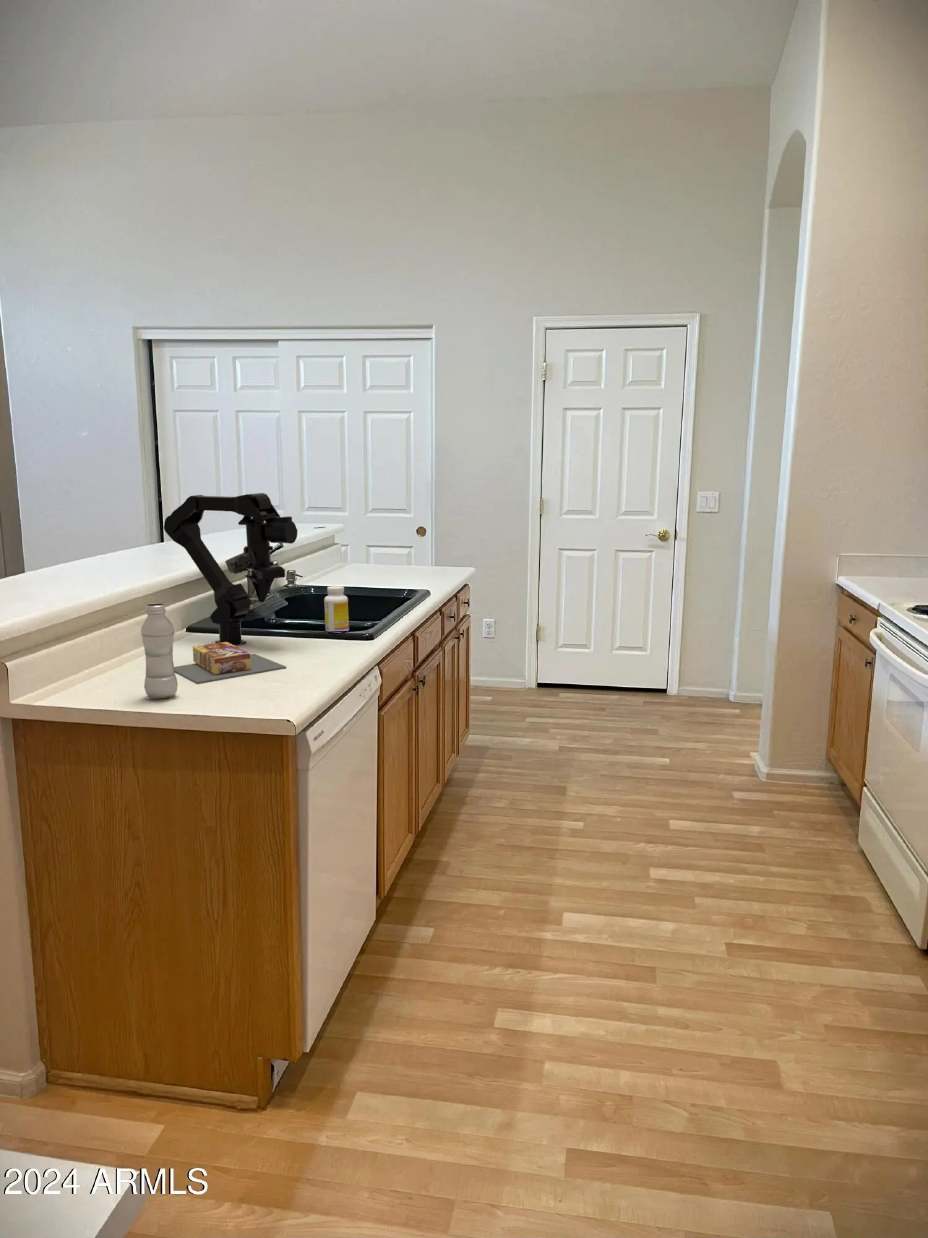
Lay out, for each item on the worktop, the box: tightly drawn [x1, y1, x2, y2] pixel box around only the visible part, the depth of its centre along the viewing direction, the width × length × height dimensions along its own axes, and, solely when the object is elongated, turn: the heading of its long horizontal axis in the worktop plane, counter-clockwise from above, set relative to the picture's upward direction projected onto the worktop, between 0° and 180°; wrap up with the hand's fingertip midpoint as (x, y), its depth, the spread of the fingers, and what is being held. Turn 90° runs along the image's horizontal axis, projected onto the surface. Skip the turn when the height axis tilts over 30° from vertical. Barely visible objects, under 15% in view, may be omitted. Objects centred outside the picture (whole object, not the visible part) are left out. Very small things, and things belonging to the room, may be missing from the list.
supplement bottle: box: [323, 585, 350, 632], centre depth 250 cm, size 7×7×13 cm
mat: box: [174, 653, 287, 685], centre depth 210 cm, size 17×22×1 cm
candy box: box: [192, 642, 251, 675], centre depth 210 cm, size 9×4×15 cm
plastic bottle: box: [140, 602, 178, 699], centre depth 184 cm, size 6×7×20 cm
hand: (261, 602), depth 230 cm, fingers closed
